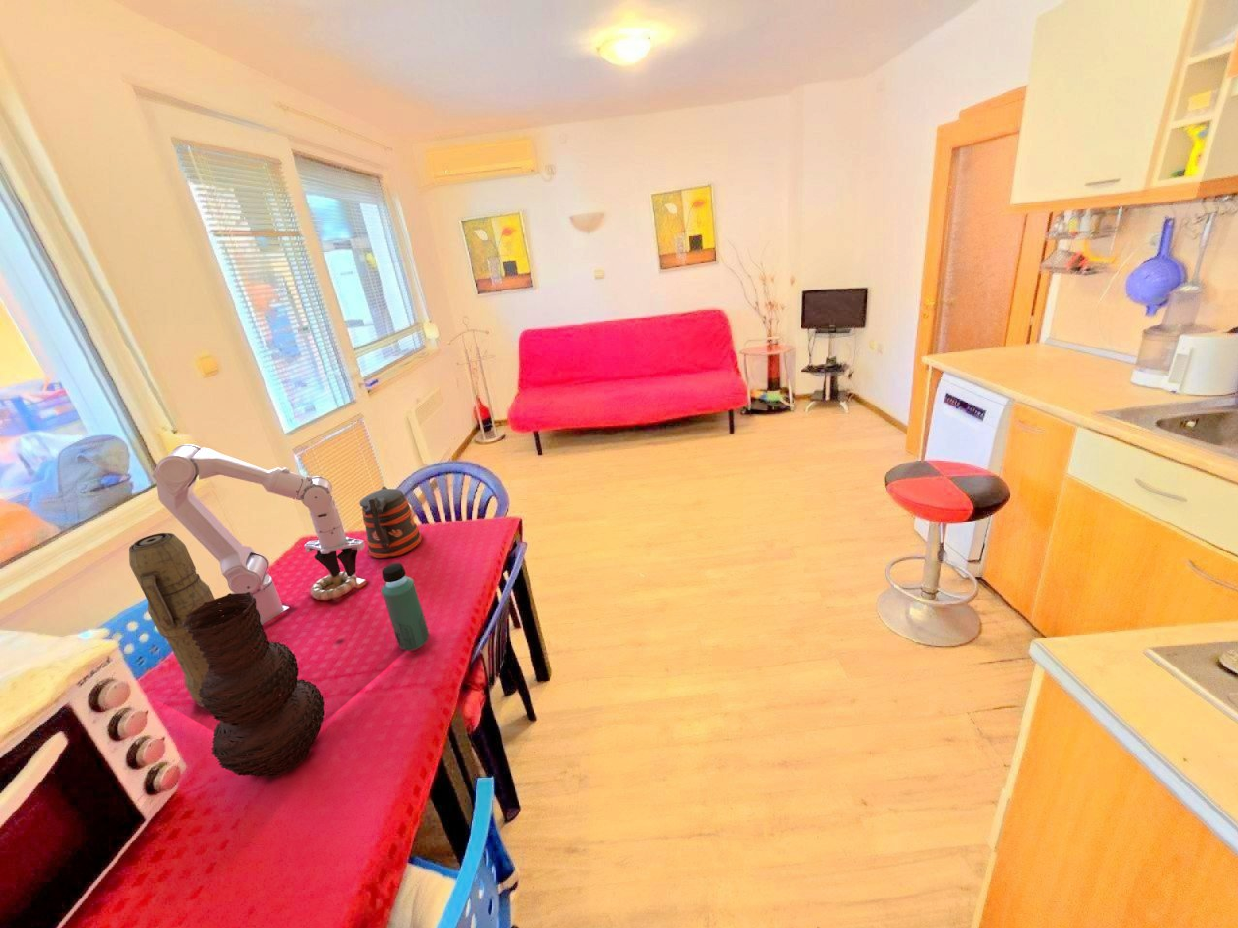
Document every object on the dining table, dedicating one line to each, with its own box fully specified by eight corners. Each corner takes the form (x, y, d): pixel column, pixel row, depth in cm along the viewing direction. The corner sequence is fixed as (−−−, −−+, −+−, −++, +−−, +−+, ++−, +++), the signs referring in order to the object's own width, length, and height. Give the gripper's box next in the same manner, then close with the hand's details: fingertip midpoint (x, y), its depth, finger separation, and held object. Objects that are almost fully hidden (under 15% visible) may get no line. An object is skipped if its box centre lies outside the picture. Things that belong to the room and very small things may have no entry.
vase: (324, 781, 80) (259, 628, 69) (213, 814, 76) (126, 658, 65) (344, 707, 94) (293, 570, 83) (251, 732, 90) (185, 592, 79)
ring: (303, 602, 125) (300, 594, 124) (329, 577, 134) (326, 570, 133) (342, 601, 123) (339, 593, 123) (365, 577, 133) (363, 569, 132)
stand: (312, 596, 129) (304, 572, 126) (343, 577, 136) (336, 554, 134) (336, 603, 125) (327, 579, 122) (366, 583, 132) (359, 560, 130)
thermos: (258, 666, 106) (193, 519, 93) (245, 706, 96) (170, 547, 83) (208, 681, 103) (133, 531, 90) (188, 725, 93) (101, 563, 80)
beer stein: (420, 559, 141) (403, 495, 134) (364, 572, 138) (343, 507, 130) (422, 529, 158) (407, 471, 151) (372, 540, 154) (354, 480, 147)
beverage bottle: (438, 639, 109) (417, 560, 102) (415, 660, 104) (390, 579, 96) (416, 632, 112) (393, 555, 105) (392, 653, 106) (367, 573, 99)
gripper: (289, 535, 119) (307, 584, 124) (346, 534, 117) (362, 583, 122) (309, 521, 125) (325, 567, 130) (363, 520, 124) (377, 567, 129)
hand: (344, 574), depth 127 cm, fingers open, 4 cm apart
